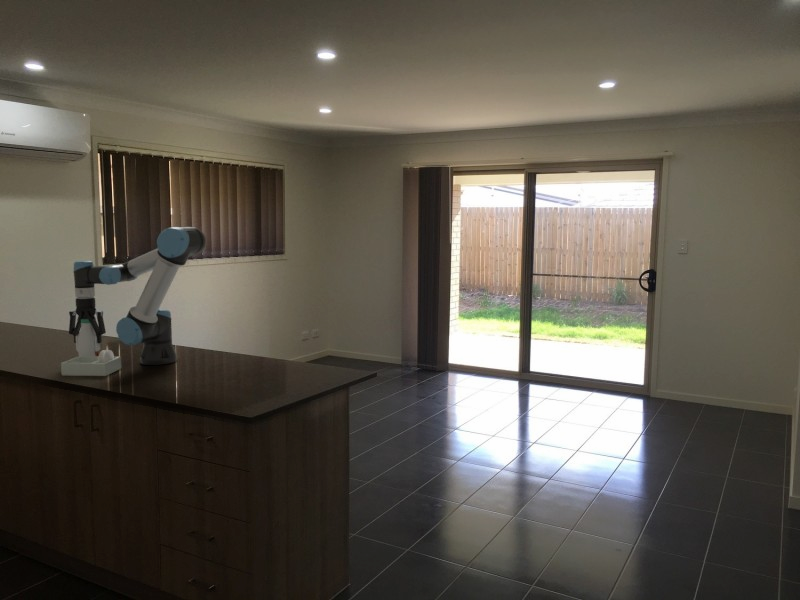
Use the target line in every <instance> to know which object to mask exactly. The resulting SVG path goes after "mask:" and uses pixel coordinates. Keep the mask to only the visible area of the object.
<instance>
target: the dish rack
mask: <svg viewBox="0 0 800 600" xmlns="http://www.w3.org/2000/svg"><path fill="white" fill-rule="evenodd" d="M60 367H61V369H60V370H61V372H60V373H61V376H74V377H75V376H78V377H79V376H80V377H81V376H82V377H83V376H85V377H86V376H88V377H89V376H90V377H93V376H94V377H106V376H108V375H110V374H112V373H115V372H117V371H119V370H121V369H122V358H121V356H115V355H114V352H113V351H112V350H111V349H109V350H108V349H104V350H100V352H99V356H79V355H78V356H75V357H73V358H70V359H68V360H65V361H62V362H60Z"/></svg>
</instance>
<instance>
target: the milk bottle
mask: <svg viewBox="0 0 800 600" xmlns="http://www.w3.org/2000/svg"><path fill="white" fill-rule="evenodd" d="M81 325H82V326H81V329H80V332H79V335H78V351H77V352H78V356H99V354H100V352H99V351H95V337H94V336H95V335H96V333H95V331H94V329H93V327H92V325H91V323H90V321H89V320H88V319H81Z"/></svg>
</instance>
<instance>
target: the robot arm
mask: <svg viewBox="0 0 800 600" xmlns="http://www.w3.org/2000/svg"><path fill="white" fill-rule="evenodd" d="M156 245H157V246H156V247H157V248H155V249H153V250H150V251H148V252H146V253H144V254H141V255H140V256H137V257H135V258H133V259H130V260H129V261H125V262H124V263H121V264H112V265H103V266H102V265H100V266H99V265H96V266H95V265H94V262H93V260H78V261H77V260H76V261H74V263H73V270H72V271H73V278H74V295H75V307H76V308H75V310H71V311H69V312H68V314H69V325H68V326H69V327H68V335H72V336H73V342H74V344H75V349H76V350H75V351H76V352H78V335H79V333H80V330H81V326H82V325H81V319H88V320H89V321H90V323H91V325H92V327H93V329H94V331H95V333H96V335H95V336H94V337H95V351H98V352H99V351H101V344H102V335H105V334H106V333H107V332H106V326H105V321H104V317H103V316H104V311H103V310H101V311H100V310H97V309H96V298H95V296H96V291H95V288H96V287H95V284H96V285H117V284H118V283H124V282H131V281H134V280H136V279H138V277H140V276H142V275H145V274H147V273H148V272H151V273H150V276H149V278H148V280H147V282H146V283H145V286H144V288H143V290H142V292H141V294H140V296H139V298H138V301H137V303H136V305H135V306H131V307H130V308H129V311H128V312H127V315H126V316H125V317H122V318H121V319H119V320H118V322H117V323H116V330H115V331H116V334H117V337H118V339H119V340H120V341H121V342H122V343H123V344H125V345H127V346H135V345H136V346H137V345H140V344H143V347H142V350H141V353H140V357H139V360H140V361H139V363H140V364H142V365H146V366H153V365H154V366H158V365H161V366H162V365H166V364H171V363H175V362H177V360H178V355H177V352H176V350H175V347H174V344H173V333H172V319H173V318H172V314H171V311H170V310H169V309H160V307H161V305H162V304H163V301H164V299H165V297H166V295H167V293H168V291H169V290H170V287H171V284H172V282H173V281H174V279H175V277H176V275H177V272H178V271H179V268H180V267H183V266H185V265H186V263H187V261H188V259H189V258H190V257H192V256H195V255H198V254H200V253H202V252H203V251H204V250H205V248H206V246H207V238H206V235H205V233H204V232H203V231H202V230H201V229H200V228H198V227H194V226H184V227H180V226H172V227H167V228H165V229H163V230H162V231H161V232H160V233H159V234H158V237H157V240H156ZM95 315H96V316H95ZM96 318H97V320H96Z"/></svg>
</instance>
